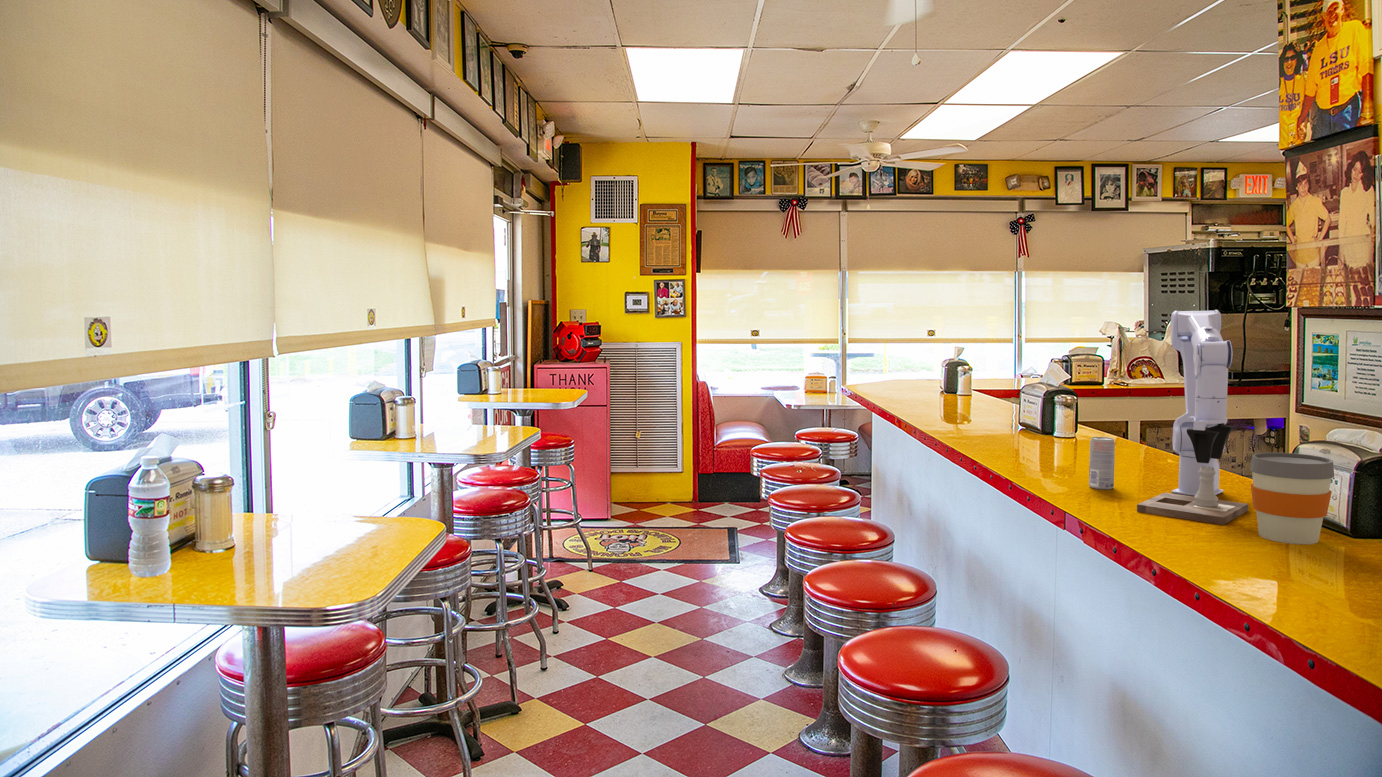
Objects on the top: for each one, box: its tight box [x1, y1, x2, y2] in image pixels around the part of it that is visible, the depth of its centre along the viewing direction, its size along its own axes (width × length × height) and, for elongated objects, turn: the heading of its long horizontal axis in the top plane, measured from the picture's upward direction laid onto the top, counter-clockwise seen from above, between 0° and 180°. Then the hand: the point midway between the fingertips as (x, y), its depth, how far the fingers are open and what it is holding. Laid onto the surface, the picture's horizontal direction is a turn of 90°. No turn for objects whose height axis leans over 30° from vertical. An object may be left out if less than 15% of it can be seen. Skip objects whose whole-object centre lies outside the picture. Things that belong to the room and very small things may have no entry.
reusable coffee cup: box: [1249, 452, 1335, 545], centre depth 150 cm, size 13×13×15 cm
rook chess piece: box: [1194, 466, 1219, 507], centre depth 169 cm, size 4×4×8 cm
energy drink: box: [1088, 436, 1116, 491], centre depth 195 cm, size 5×5×12 cm
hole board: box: [1136, 492, 1249, 526], centre depth 171 cm, size 16×16×2 cm
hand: (1208, 460), depth 173 cm, fingers open, 7 cm apart
